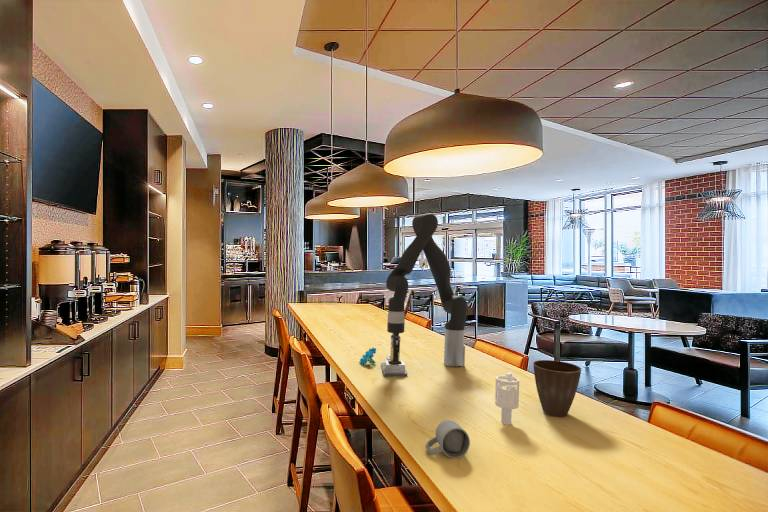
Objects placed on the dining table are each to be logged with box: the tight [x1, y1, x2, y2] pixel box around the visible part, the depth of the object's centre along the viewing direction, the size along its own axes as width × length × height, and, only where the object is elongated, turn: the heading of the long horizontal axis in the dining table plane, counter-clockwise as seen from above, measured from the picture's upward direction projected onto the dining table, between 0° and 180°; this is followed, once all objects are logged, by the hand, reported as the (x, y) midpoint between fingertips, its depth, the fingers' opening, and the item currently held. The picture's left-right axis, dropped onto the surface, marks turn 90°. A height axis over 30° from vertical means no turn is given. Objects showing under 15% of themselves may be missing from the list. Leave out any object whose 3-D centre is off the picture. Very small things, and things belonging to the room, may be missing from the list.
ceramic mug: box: [425, 419, 471, 459], centre depth 109 cm, size 11×8×8 cm
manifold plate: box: [380, 355, 408, 377], centre depth 186 cm, size 10×18×5 cm, turn 4°
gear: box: [359, 347, 377, 367], centre depth 196 cm, size 11×6×10 cm
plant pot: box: [532, 359, 582, 418], centre depth 139 cm, size 15×15×16 cm
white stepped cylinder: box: [494, 371, 520, 426], centre depth 130 cm, size 7×7×15 cm
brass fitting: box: [389, 346, 401, 364], centre depth 181 cm, size 4×4×8 cm
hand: (394, 360), depth 181 cm, fingers closed on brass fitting, 4 cm apart
